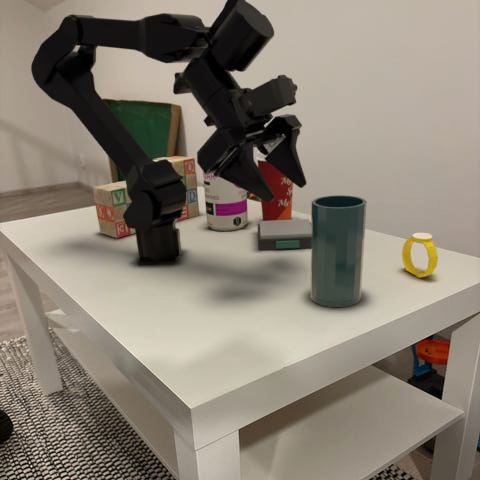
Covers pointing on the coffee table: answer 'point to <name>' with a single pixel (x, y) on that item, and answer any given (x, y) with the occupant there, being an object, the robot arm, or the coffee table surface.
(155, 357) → the coffee table surface
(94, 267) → the coffee table surface
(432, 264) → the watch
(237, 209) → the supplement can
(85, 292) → the coffee table surface
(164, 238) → the robot arm
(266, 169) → the paper cup
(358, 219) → the ceramic cup
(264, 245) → the scale
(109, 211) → the stack of blocks
